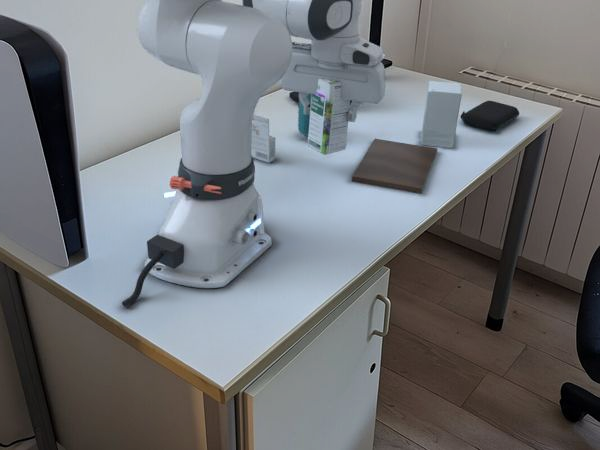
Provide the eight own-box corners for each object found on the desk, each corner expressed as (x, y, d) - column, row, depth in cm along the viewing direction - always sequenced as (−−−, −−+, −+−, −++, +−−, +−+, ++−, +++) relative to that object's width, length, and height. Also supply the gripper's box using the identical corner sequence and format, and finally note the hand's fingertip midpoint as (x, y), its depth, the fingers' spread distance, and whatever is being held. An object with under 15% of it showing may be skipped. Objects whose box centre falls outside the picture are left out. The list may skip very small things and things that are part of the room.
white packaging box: (453, 148, 150) (462, 94, 143) (419, 145, 151) (427, 90, 144) (453, 135, 156) (462, 82, 149) (421, 132, 157) (428, 79, 151)
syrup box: (306, 145, 136) (310, 75, 129) (329, 140, 140) (334, 71, 133) (324, 155, 133) (329, 83, 125) (347, 149, 136) (353, 79, 129)
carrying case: (480, 107, 172) (453, 123, 162) (482, 96, 171) (455, 111, 161) (520, 118, 167) (494, 136, 157) (523, 106, 165) (497, 123, 155)
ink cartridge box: (234, 146, 147) (233, 103, 142) (275, 159, 142) (276, 116, 137) (227, 150, 145) (226, 106, 140) (268, 163, 140) (269, 119, 135)
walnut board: (421, 193, 131) (422, 188, 130) (351, 181, 135) (352, 176, 134) (437, 153, 147) (437, 148, 147) (374, 143, 151) (374, 138, 150)
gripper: (276, 44, 126) (274, 114, 133) (384, 58, 121) (376, 131, 128) (287, 36, 132) (285, 104, 138) (391, 50, 126) (383, 120, 133)
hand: (329, 117), depth 133 cm, fingers closed on syrup box, 7 cm apart
